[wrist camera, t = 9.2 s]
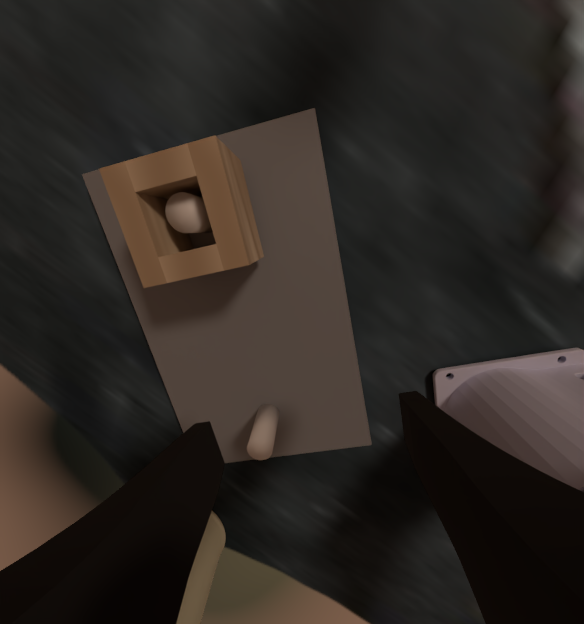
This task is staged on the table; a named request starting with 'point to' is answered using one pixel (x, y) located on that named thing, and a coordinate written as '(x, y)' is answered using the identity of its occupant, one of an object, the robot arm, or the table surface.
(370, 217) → the table surface
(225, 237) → the ash collar
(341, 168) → the table surface
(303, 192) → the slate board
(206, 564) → the can
